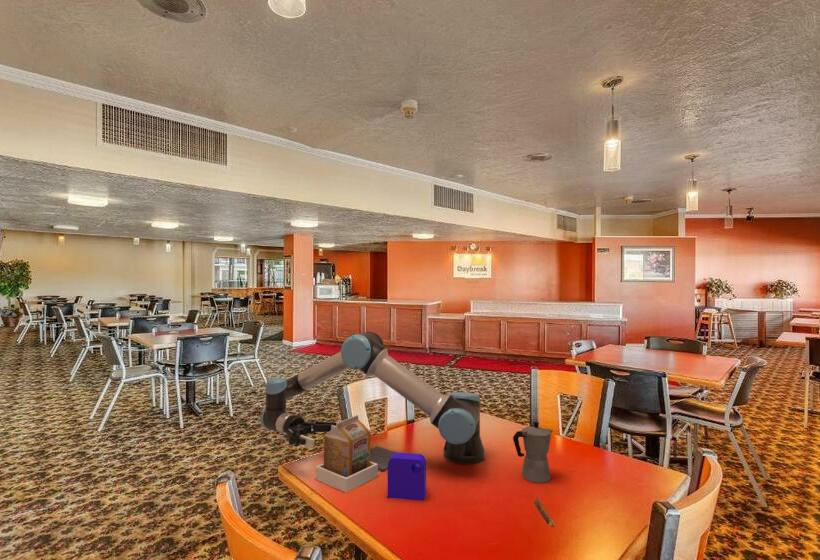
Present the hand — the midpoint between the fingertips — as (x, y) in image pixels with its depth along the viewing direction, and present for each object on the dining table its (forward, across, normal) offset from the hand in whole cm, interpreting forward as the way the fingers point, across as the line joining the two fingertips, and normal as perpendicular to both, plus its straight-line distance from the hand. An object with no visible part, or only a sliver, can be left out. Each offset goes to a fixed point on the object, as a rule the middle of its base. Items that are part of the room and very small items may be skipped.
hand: (329, 438), depth 142 cm
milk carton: (+8, 0, -11) cm, 14 cm away
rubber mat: (+7, -18, -11) cm, 22 cm away
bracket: (+28, -9, -11) cm, 31 cm away
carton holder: (+8, 0, -11) cm, 14 cm away
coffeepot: (+56, -39, -11) cm, 69 cm away
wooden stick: (+66, -19, -12) cm, 70 cm away
